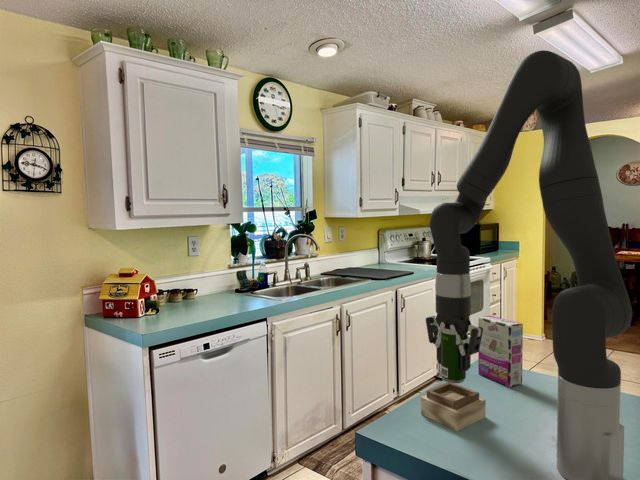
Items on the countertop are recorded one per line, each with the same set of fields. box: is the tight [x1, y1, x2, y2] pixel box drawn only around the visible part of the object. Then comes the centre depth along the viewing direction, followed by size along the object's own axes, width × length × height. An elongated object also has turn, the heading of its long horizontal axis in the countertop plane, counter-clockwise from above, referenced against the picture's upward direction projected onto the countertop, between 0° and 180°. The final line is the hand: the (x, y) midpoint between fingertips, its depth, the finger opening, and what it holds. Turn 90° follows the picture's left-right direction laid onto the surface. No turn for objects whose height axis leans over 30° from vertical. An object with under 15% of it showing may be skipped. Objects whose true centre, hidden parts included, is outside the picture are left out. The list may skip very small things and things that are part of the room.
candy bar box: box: [477, 315, 524, 388], centre depth 119 cm, size 11×5×16 cm, turn 25°
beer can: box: [440, 327, 467, 384], centre depth 98 cm, size 5×5×12 cm
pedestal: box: [420, 382, 487, 432], centre depth 99 cm, size 10×10×6 cm
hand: (452, 366), depth 99 cm, fingers closed on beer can, 5 cm apart
